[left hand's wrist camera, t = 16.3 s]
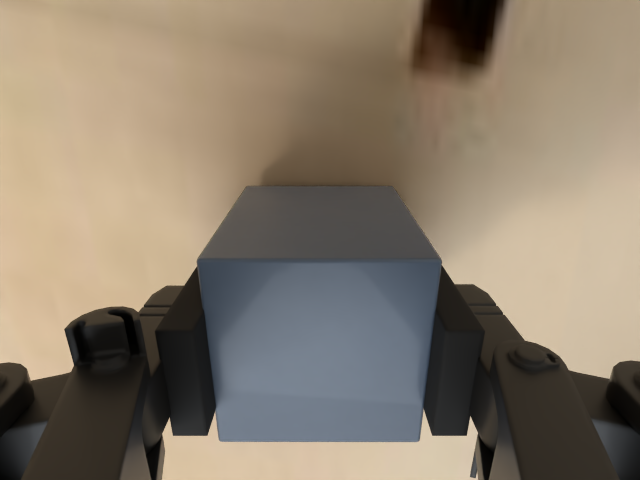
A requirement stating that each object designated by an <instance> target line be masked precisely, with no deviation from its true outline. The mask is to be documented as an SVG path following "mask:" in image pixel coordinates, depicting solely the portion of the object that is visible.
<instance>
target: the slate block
mask: <svg viewBox="0 0 640 480" xmlns="http://www.w3.org/2000/svg"><path fill="white" fill-rule="evenodd" d="M441 265H442V260H441V258H440V257H439V255H438V254H437V252H436V251H435V249H434V248H433V246H432V245H431V243H430V242H429V240H428V239H427V237H426V236H425V234H424V233H423V231H422V230H421V228H420V226H419V225H418V223H417V222H416V220H415V219H414V217H413V216H412V214H411V213H410V211H409V210H408V208H407V207H406V205H405V204H404V202H403V201H402V199H401V198H400V196H399V195H398V193H397V192H396V190H395V189H394V187H392V186H247V187H246V188H245V189H244V191H243V192H242V194H241V195H240V197H239V198H238V200H237V201H236V203H235V204H234V206H233V207H232V208H231V210H230V211H229V213H228V214H227V216H226V217H225V219H224V220H223V222H222V223H221V225H220V226H219V228H218V229H217V231H216V232H215V234H214V235H213V237H212V238H211V240H210V241H209V243H208V244H207V246H206V247H205V248H204V250H203V251H202V253H201V254H200V256H199V257H198V259H197V268H198V276H199V284H200V292H201V300H202V308H203V310H204V314H205V322H206V331H207V339H208V347H209V355H210V363H211V371H212V379H213V387H214V395H215V403H216V410H215V413H216V421H217V429H218V437H219V441H221V442H418V441H419V440H420V433H421V425H422V417H423V409H424V400H425V392H426V384H427V376H428V368H429V359H430V351H431V343H432V335H433V327H434V319H435V311H436V305H437V297H438V289H439V281H440V273H441Z"/></svg>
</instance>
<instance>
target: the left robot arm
mask: <svg viewBox="0 0 640 480" xmlns="http://www.w3.org/2000/svg"><path fill="white" fill-rule="evenodd" d="M64 330H65V333H66V337H67V341H68V344H69V348H70V352H71V355H72V359H73V363H74V367H73V369H72V371H71V372H70V373H66V374H62V375H57V376H52V377H47V378H42V379H38V380H33V381H31V380H30V377H29V374H28V371H27V369H26V368H25V367H24V366H22V365H21V364H17V363H1V364H0V480H162V473H163V464H164V456H165V448H164V441H163V436H162V433H163V431H164V428H165V426H166V424H167V422H168V419H169V417H170V421H171V427H172V432H173V436H207V435H208V432H209V429H210V426H211V422H212V419H213V416H214V413H215V410H216V403H215V395H214V387H213V379H212V371H211V363H210V355H209V347H208V339H207V331H206V322H205V314H204V310H203V308H202V300H201V292H200V284H199V276H198V268H197V267H196V269H195V270H194V272H193V273H192V275H191V276H190V278H189V279H188V281H187V283H186V284H185V286H165V287H164V288H162V289H161V290H159V291H157V292H156V293H154V294H153V295H152V296H151V297H150V298H149V300H148V301H147V302H146V303H145V305H144V307H142V309H141V310H140V311H139V312H137V311H136V310H134V309H132V308H128V307H108V308H103V309H98V310H95V311H92V312H89V313H87V314H84V315H82V316H80V317H78V318H77V319H75V320H73V321H72V322H71V323H70V324H69V325H68V326H67V327H66V328H65V329H64ZM424 411H425V414H426V417H427V420H428V423H429V427H430V430H431V433H432V436H467V431H468V425H469V419H470V416H471V418H472V420H473V422H474V425H475V427H476V429H477V431H478V436H477V441H476V447H475V452H474V457H473V462H472V468H471V474H470V477H473V478H476V473H477V472H478V480H640V362H639V361H624V362H619V363H618V364H617V365H615V366H614V367H613V370H612V373H611V376H610V379H606V378H601V377H597V376H592V375H587V374H582V373H577V372H573V371H569V370H568V368H567V366H566V364H565V363H564V362H563V361H562V359H561V358H560V357H559V356H558V355H557V354H555V353H554V352H552V351H551V350H549V349H548V348H545V347H543V346H541V345H538V344H536V343H532V342H528V341H525V340H524V339H523V338H522V336H521V335H520V334H519V333H518V331H517V330H516V329H515V328H514V326H513V325H512V324H511V322H510V321H509V320H508V319H507V317H506V316H505V315H503V312H502V311H501V310H500V308H499V307H498V306H496V303H495V302H494V301H493V300H492V298H491V297H490V296H489V294H488V293H486V292H485V291H483V290H481V289H480V288H478V287H477V286H475V285H473V284H454V283H453V281H452V280H451V278H450V277H449V275H448V274H447V272H446V271H445V269H444V268H443V266H442V265H441V273H440V281H439V289H438V297H437V305H436V311H435V319H434V327H433V335H432V343H431V351H430V359H429V368H428V376H427V384H426V392H425V400H424Z"/></svg>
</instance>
